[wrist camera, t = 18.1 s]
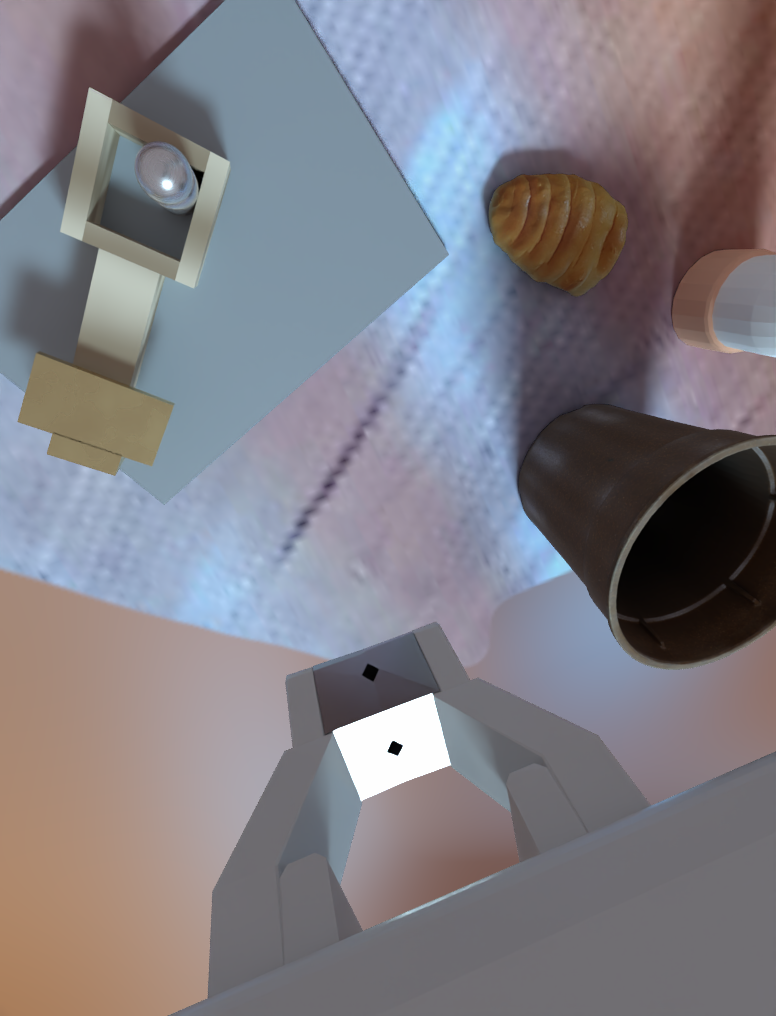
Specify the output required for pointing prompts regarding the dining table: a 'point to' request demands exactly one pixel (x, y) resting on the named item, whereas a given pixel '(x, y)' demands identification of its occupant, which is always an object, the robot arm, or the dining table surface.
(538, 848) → the robot arm
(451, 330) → the dining table surface
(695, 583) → the plant pot
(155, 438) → the block
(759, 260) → the salt shaker
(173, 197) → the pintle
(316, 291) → the board
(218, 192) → the link
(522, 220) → the pastry
